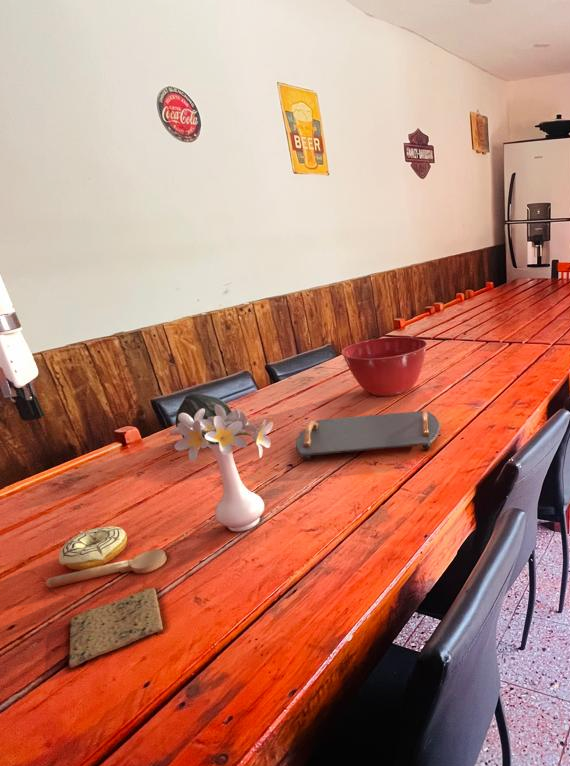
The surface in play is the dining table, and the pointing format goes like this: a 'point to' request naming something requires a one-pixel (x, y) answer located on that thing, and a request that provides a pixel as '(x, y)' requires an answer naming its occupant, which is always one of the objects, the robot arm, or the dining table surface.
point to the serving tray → (367, 433)
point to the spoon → (113, 568)
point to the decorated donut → (93, 548)
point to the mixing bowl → (386, 364)
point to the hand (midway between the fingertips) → (33, 418)
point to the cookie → (113, 626)
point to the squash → (200, 406)
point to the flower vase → (226, 460)
